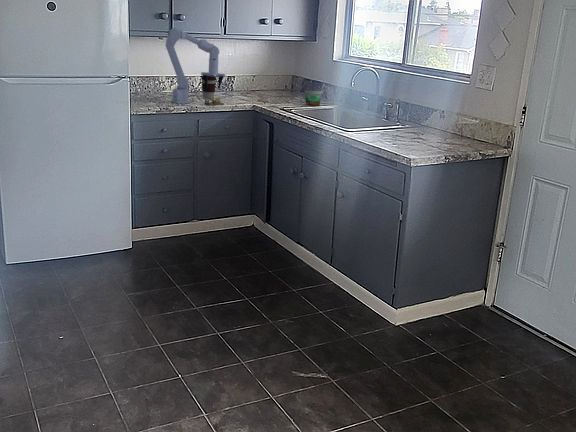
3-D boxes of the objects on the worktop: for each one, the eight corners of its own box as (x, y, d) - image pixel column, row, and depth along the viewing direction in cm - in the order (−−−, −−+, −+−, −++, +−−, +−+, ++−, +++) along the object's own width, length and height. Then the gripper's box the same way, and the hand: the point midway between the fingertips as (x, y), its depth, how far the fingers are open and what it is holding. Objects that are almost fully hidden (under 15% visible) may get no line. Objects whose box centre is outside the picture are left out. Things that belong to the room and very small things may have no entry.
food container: (306, 106, 419) (307, 90, 415) (303, 104, 424) (304, 89, 421) (324, 106, 422) (325, 91, 419) (321, 105, 427) (322, 90, 424)
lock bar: (213, 102, 399) (213, 98, 398) (211, 101, 401) (211, 97, 400) (220, 101, 403) (220, 97, 402) (218, 101, 404) (218, 97, 403)
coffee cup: (205, 99, 417) (206, 75, 412) (197, 96, 424) (198, 73, 419) (218, 98, 423) (219, 75, 418) (210, 96, 430) (211, 73, 425)
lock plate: (209, 105, 395) (209, 100, 394) (204, 104, 399) (204, 98, 398) (223, 104, 402) (224, 99, 401) (218, 103, 406) (219, 97, 405)
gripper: (200, 65, 393) (200, 88, 398) (224, 67, 393) (223, 90, 397) (202, 64, 400) (202, 86, 404) (225, 66, 400) (225, 88, 404)
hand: (212, 88), depth 401 cm, fingers open, 7 cm apart
